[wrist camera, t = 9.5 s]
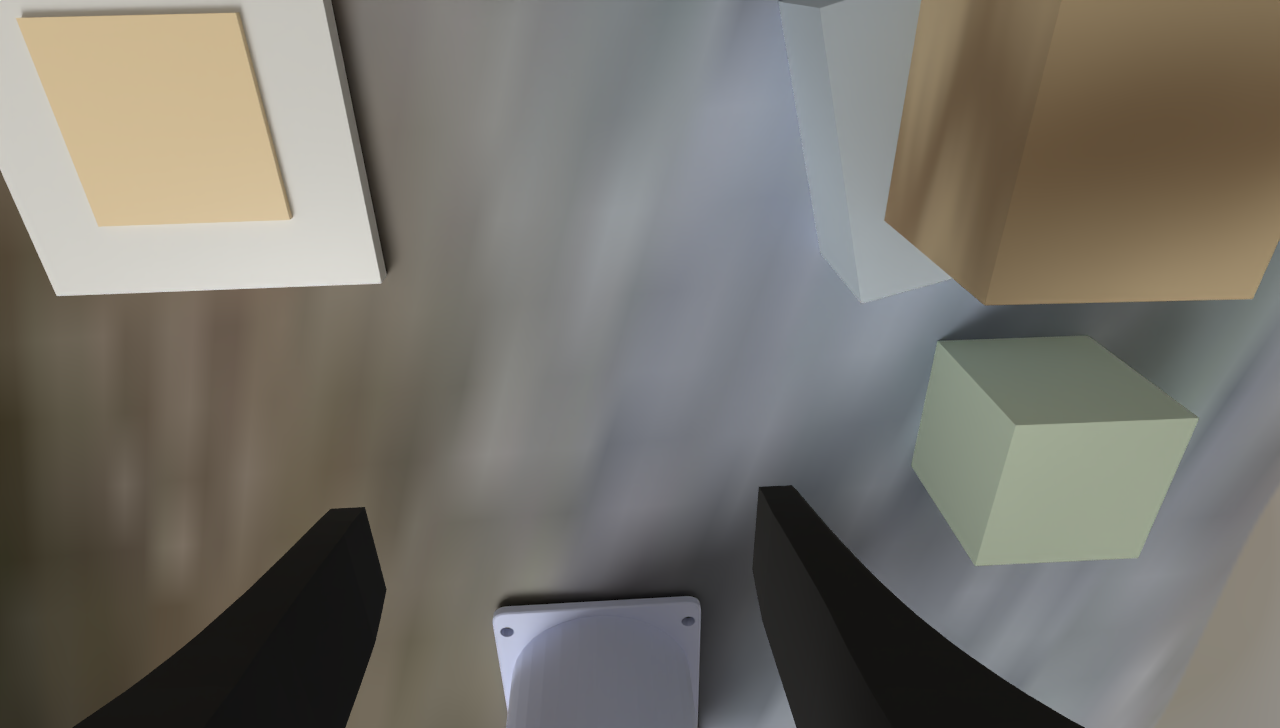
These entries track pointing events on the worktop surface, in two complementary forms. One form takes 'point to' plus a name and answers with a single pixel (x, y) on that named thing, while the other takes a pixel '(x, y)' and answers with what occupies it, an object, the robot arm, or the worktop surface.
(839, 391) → the worktop surface
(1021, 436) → the sage block
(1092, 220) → the maple block
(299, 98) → the card
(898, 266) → the blue-grey base block
